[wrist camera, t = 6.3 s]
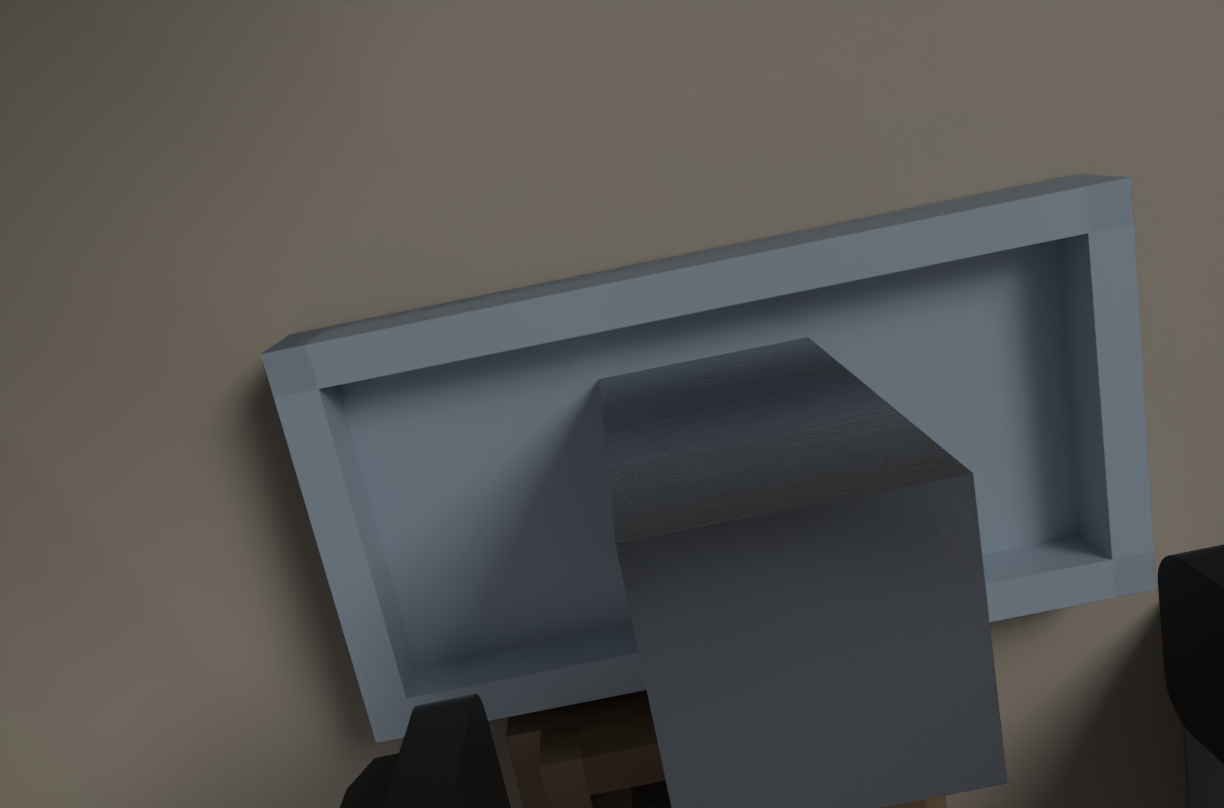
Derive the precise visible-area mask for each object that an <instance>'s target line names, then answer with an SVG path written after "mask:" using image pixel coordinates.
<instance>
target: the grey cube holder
mask: <svg viewBox="0 0 1224 808" xmlns="http://www.w3.org/2000/svg"><path fill="white" fill-rule="evenodd" d="M1185 743H1186V761H1187V779H1188V797H1189V808H1224V764H1223V763H1222V762H1221V761H1219V760H1218V759H1217V758H1216V757H1215V756H1214V755H1213V754H1212V753H1211V752H1210V751H1209V750H1208V749H1206V748H1205V747H1204V746H1203V745H1202V744H1201V743H1200V742H1199V741H1198V740H1197V739H1196V738H1195V737H1194V736H1193V735H1192V734H1191V733H1190V732H1189V731H1188V730H1187V729H1186V727H1185Z"/></svg>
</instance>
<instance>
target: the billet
mask: <svg viewBox="0 0 1224 808" xmlns="http://www.w3.org/2000/svg"><path fill="white" fill-rule="evenodd" d="M599 384H600V394H601V404H602V414H603V424H604V434H605V444H606V454H607V464H608V474H609V484H610V494H611V504H612V514H613V524H614V533H615V543H616V549H617V553H618V558H619V563H620V567H621V572H622V577H623V582H624V586H625V591H626V596H627V600H628V605H629V610H630V615H631V619H632V624H633V629H634V633H635V638H636V643H637V647H638V652H639V657H640V662H641V666H642V671H643V676H644V680H645V685H646V690H647V694H648V699H649V704H650V709H651V713H652V718H653V723H654V727H655V732H656V737H657V741H658V746H659V751H660V756H661V760H662V765H663V770H664V774H665V779H666V784H667V789H668V793H669V798H670V803H671V807H672V808H883V807H888V806H893V805H898V804H903V803H909V802H914V801H919V800H924V799H929V798H934V797H939V796H945V795H950V794H955V793H960V792H965V791H970V790H976V789H981V788H986V787H991V786H996V785H1001V784H1006V783H1007V777H1006V767H1005V758H1004V749H1003V740H1002V731H1001V722H1000V713H999V704H998V695H997V686H996V676H995V667H994V658H993V649H992V640H991V631H990V622H989V613H988V604H987V595H986V586H985V576H984V567H983V558H982V549H981V540H980V531H979V522H978V513H977V504H976V495H975V485H974V476H973V473H972V472H971V471H970V470H969V469H967V468H966V467H965V466H964V465H963V464H961V463H960V462H959V461H958V460H957V459H955V458H954V457H953V456H952V455H950V454H949V453H948V452H947V451H946V450H944V449H943V448H942V447H941V446H940V445H938V444H937V443H936V442H935V441H933V440H932V439H931V438H930V437H929V436H927V435H926V434H925V433H924V432H923V431H921V430H920V429H919V428H918V427H916V426H915V425H914V424H913V423H912V422H910V421H909V420H908V419H907V418H906V417H904V416H903V415H902V414H901V413H900V412H898V411H897V410H896V409H895V408H893V407H892V406H891V405H890V404H889V403H887V402H886V401H885V400H884V399H883V398H881V397H880V396H879V395H878V394H876V393H875V392H874V391H873V390H872V389H870V388H869V387H868V386H867V385H866V384H864V383H863V382H862V381H861V380H860V379H858V378H857V377H856V376H855V375H853V374H852V373H851V372H850V371H849V370H847V369H846V368H845V367H844V366H843V365H841V364H840V363H839V362H838V361H836V360H835V359H834V358H833V357H832V356H830V355H829V354H828V353H827V352H826V351H824V350H823V349H822V348H821V347H820V346H818V345H817V344H816V343H815V342H813V341H812V340H811V339H810V338H809V337H805V338H800V339H795V340H790V341H785V342H780V343H775V344H771V345H766V346H761V347H756V348H751V349H746V350H741V351H736V352H731V353H726V354H721V355H716V356H711V357H706V358H701V359H696V360H691V361H686V362H681V363H676V364H671V365H666V366H661V367H657V368H652V369H647V370H642V371H637V372H632V373H627V374H622V375H617V376H612V377H607V378H602V379H599Z"/></svg>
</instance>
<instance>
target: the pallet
mask: <svg viewBox="0 0 1224 808" xmlns="http://www.w3.org/2000/svg"><path fill="white" fill-rule="evenodd" d="M506 739H507V743H508V746H509V750H510V754H511V758H512V762H513V766H514V770H515V774H516V778H517V781H518V785H519V789H520V793H521V797H522V801H523V805H524V808H633V807H632V795H631V787H636V786H641V785H646V784H651V783H656V782H662V781H666V779H665V774H664V770H663V765H662V760H661V756H660V751H659V746H658V741H657V737H656V732H655V727H654V723H653V718H652V713H651V709H650V704H649V699H648V694H647V690H643V691H638V692H633V693H628V694H623V695H618V696H613V697H608V698H603V699H597V700H592V701H587V702H582V703H577V704H572V705H567V706H562V707H557V708H552V709H547V710H542V711H536V712H531V713H526V714H521V715H516V716H511V717H508V725H507V733H506ZM883 808H947V806H946V799H945V796H939V797H934V798H929V799H924V800H919V801H914V802H909V803H903V804H898V805H893V806H888V807H883Z"/></svg>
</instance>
